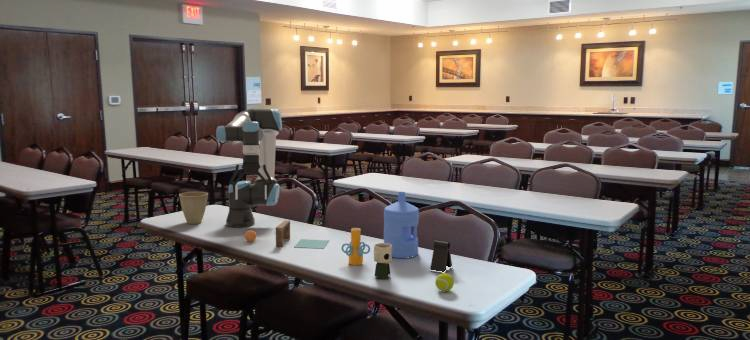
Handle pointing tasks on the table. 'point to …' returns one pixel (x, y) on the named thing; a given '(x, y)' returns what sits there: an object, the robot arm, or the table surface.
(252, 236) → the ball
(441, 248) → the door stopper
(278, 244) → the bridge
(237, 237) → the table surface
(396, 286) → the table surface
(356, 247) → the orange post with rings
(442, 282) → the tennis ball
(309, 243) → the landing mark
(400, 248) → the water jug
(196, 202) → the plant pot
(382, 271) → the character mug
